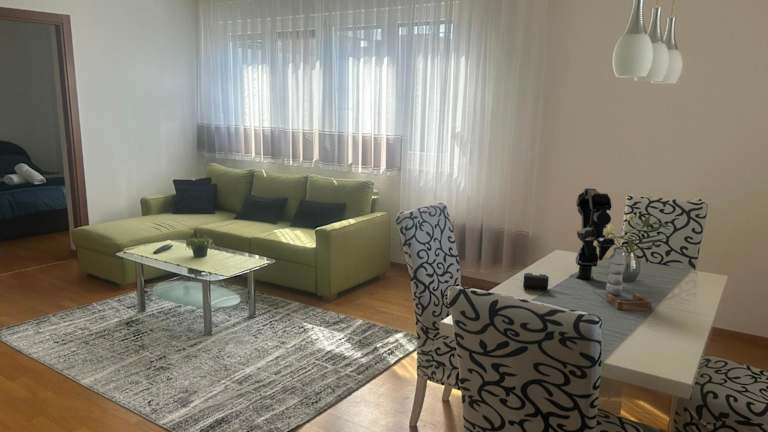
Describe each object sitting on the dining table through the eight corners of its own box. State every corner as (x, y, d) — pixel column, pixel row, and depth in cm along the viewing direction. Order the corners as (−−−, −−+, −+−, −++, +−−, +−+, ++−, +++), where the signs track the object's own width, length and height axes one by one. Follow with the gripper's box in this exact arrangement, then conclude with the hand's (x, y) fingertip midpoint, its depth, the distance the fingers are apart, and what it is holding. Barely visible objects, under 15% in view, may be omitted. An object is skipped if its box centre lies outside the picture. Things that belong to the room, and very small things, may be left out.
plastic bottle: (614, 298, 237) (620, 251, 233) (601, 293, 243) (606, 247, 239) (625, 296, 240) (631, 249, 236) (612, 291, 246) (617, 245, 242)
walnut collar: (605, 300, 234) (606, 293, 234) (636, 300, 236) (636, 293, 236) (619, 310, 224) (620, 302, 224) (651, 309, 226) (652, 302, 226)
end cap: (522, 291, 243) (524, 275, 242) (522, 286, 250) (524, 271, 249) (547, 293, 241) (548, 278, 240) (546, 288, 248) (548, 273, 247)
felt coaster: (592, 291, 246) (592, 290, 246) (618, 290, 248) (618, 289, 248) (607, 300, 235) (607, 299, 234) (634, 300, 236) (634, 299, 236)
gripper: (568, 218, 254) (565, 253, 256) (593, 225, 236) (590, 262, 238) (590, 219, 257) (587, 253, 259) (617, 225, 239) (613, 262, 241)
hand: (593, 258), depth 249 cm, fingers open, 9 cm apart
